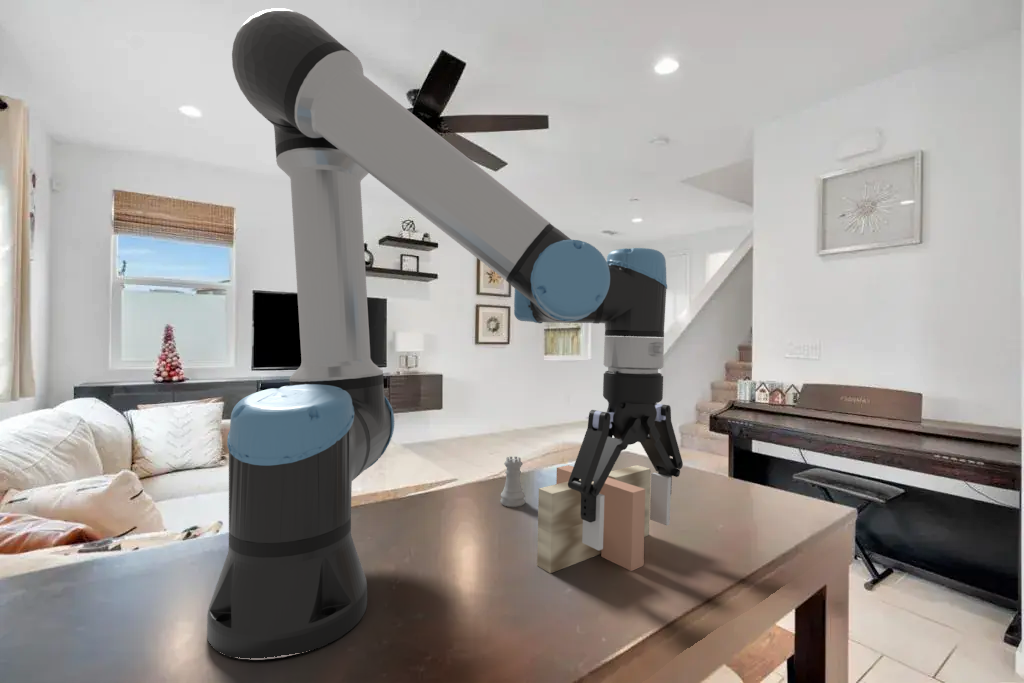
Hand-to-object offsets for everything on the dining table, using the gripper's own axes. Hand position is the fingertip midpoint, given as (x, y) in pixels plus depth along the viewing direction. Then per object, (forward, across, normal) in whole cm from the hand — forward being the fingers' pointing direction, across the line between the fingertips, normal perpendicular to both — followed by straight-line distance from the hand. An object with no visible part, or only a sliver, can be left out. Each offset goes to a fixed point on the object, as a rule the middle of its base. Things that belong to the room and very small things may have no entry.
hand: (628, 533), depth 65 cm
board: (+4, 0, +5) cm, 7 cm away
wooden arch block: (+4, 0, +6) cm, 7 cm away
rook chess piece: (+4, +2, +27) cm, 27 cm away
